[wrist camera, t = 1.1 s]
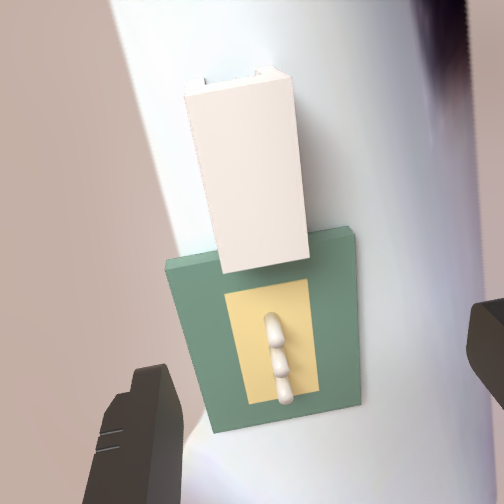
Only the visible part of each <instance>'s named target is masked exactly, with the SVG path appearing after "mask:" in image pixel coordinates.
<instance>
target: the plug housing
mask: <svg viewBox="0 0 504 504" xmlns="http://www.w3.org/2000/svg"><path fill="white" fill-rule="evenodd" d="M255 74H256V76H251V77H245V78H239V79H234V80H228V81H223V82H217V83H211V84H206V85H205V80H204V78H199V79H193V80H188V83H187V86H186V90H185V94H184V99H185V104H186V108H187V113H188V117H189V122H190V127H191V131H192V136H193V140H194V145H195V149H196V154H197V158H198V163H199V167H200V172H201V176H202V181H203V185H204V190H205V194H206V199H207V204H208V208H209V213H210V217H211V222H212V226H213V231H214V235H215V240H216V244H217V249H218V253H219V258H220V262H221V267H222V272H223V274H225V273H231V272H236V271H241V270H247V269H252V268H257V267H263V266H268V265H273V264H279V263H284V262H289V261H294V260H300V259H305V258H310V255H309V245H308V235H307V225H306V215H305V205H304V195H303V185H302V175H301V165H300V155H299V145H298V135H297V125H296V115H295V105H294V95H293V85H292V77H290V76H289V75H287V74H285V73H283V72H281V71H279V70H278V69H276V68H274V67H272V66H266V67H261V68H255Z"/></svg>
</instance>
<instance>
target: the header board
mask: <svg viewBox="0 0 504 504" xmlns="http://www.w3.org/2000/svg"><path fill="white" fill-rule="evenodd" d="M307 235H308V245H309V255H310V258H305V259H300V260H294V261H289V262H284V263H279V264H273V265H268V266H263V267H257V268H252V269H247V270H241V271H236V272H231V273H225V274H223V272H222V267H221V262H220V258H219V253H218V250H216V251H211V252H206V253H200V254H195V255H190V256H184V257H179V258H174V259H168V260H166V265H165V272H166V276H167V279H168V282H169V286H170V289H171V292H172V295H173V299H174V302H175V306H176V309H177V312H178V316H179V319H180V322H181V326H182V329H183V333H184V336H185V339H186V342H187V346H188V349H189V353H190V356H191V359H192V362H193V366H194V369H195V373H196V376H197V380H198V383H199V386H200V390H201V392H202V396H203V399H204V403H205V406H206V410H207V413H208V416H209V420H210V423H211V426H212V430H213V433H214V434H215V433H220V432H225V431H230V430H235V429H240V428H245V427H250V426H256V425H261V424H266V423H271V422H276V421H281V420H286V419H291V418H296V417H302V416H307V415H312V414H317V413H322V412H327V411H332V410H337V409H342V408H348V407H353V406H358V405H361V387H360V361H359V336H358V310H357V285H356V259H355V234H354V233H353V232H352V230H351V229H350V228H349V226H345V227H340V228H334V229H329V230H324V231H318V232H313V233H307Z"/></svg>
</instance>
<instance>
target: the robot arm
mask: <svg viewBox="0 0 504 504" xmlns="http://www.w3.org/2000/svg"><path fill="white" fill-rule="evenodd" d="M466 352H467V357H468V360H469V363H470V365H471V367H472V369H473V371H474V372H475V373H476V375H477V376H478V377H479V379H480V380H481V381H482V383H483V384H484V385H485V386H486V388H487V389H488V390H489V392H490V393H491V394H492V395H493V397H494V398H495V399H496V400H497V402H498V403H499V404H500V406H501V407H502V408H503V410H504V298H501V299H496V300H490V301H485V302H480V303H476V304H474V305H473V306H472V308H471V314H470V322H469V330H468V338H467V345H466ZM183 428H184V425H183V414H182V408H181V404H180V401H179V398H178V395H177V393H176V390H175V387H174V384H173V381H172V379H171V376H170V373H169V370H168V368H167V366H166V364H159V365H154V366H149V367H144V368H139V369H136V370H135V371H134V374H133V379H132V384H131V389H130V392H126V393H121V394H117V395H116V396H115V398H114V399H113V401H112V402H111V404H110V406H109V407H108V408H107V410H106V412H105V413H104V417H103V421H102V425H101V429H100V437H98V441H97V445H96V454H94V458H93V462H92V466H91V470H90V475H89V478H88V482H87V486H86V490H85V494H84V499H83V502H82V504H180V501H181V477H182V454H183V430H184V429H183Z"/></svg>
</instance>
